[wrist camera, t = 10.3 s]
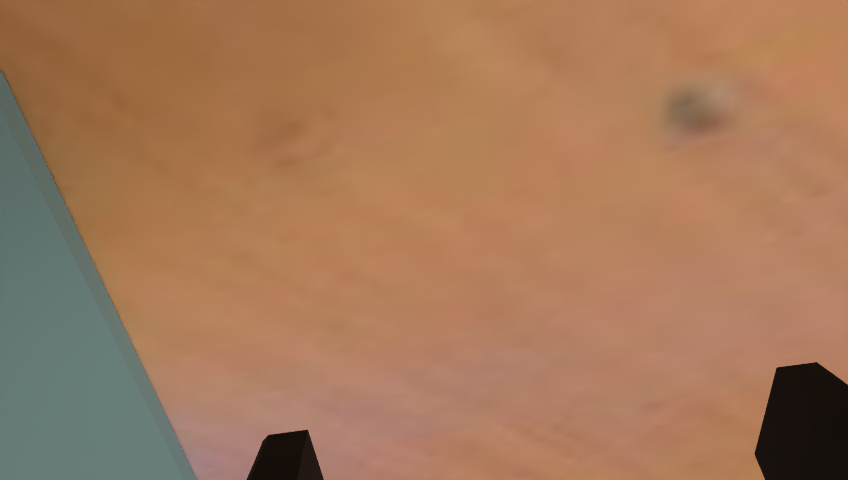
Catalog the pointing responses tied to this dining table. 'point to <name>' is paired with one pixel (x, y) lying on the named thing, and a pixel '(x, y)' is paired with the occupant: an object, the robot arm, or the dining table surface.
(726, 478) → the dining table surface
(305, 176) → the dining table surface
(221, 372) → the dining table surface
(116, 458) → the teal board
